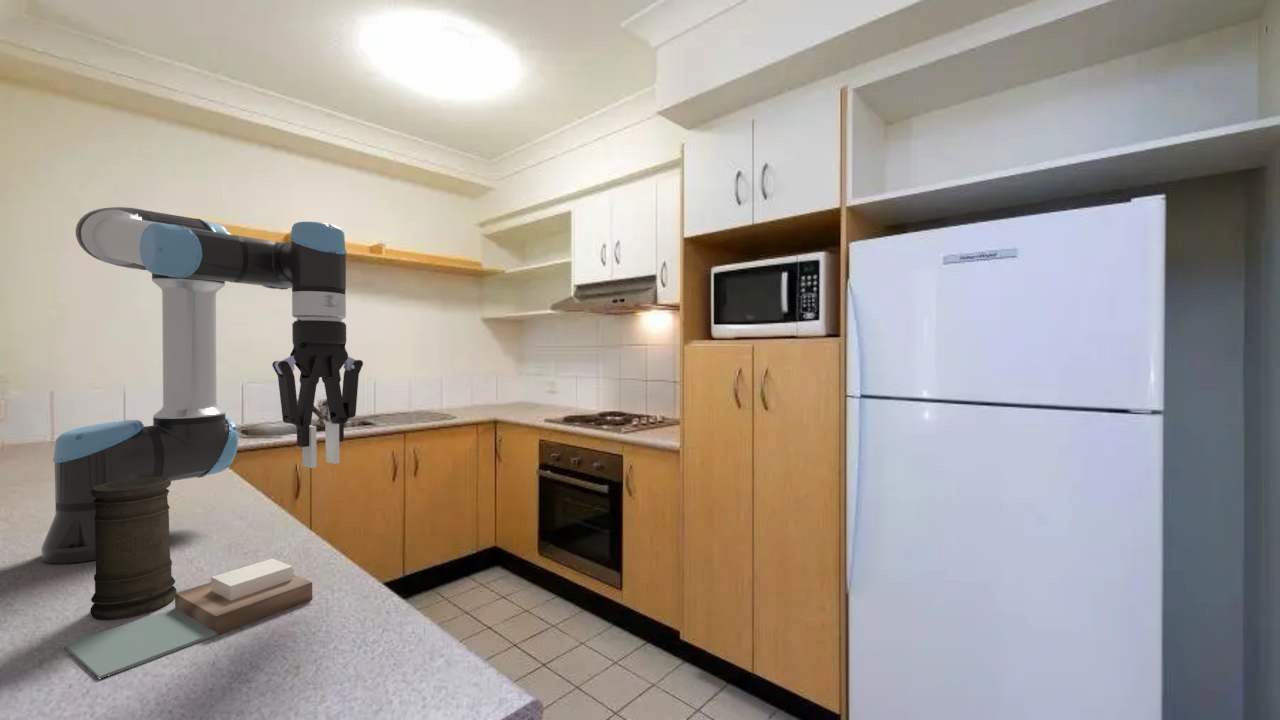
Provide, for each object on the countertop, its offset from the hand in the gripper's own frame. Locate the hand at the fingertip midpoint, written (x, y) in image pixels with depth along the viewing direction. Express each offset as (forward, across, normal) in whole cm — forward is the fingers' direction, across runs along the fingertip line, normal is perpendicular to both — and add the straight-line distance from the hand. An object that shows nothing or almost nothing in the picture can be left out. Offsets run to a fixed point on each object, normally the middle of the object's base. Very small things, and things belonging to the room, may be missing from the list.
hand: (321, 464), depth 87 cm
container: (+19, -19, +14) cm, 30 cm away
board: (+19, -11, 0) cm, 22 cm away
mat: (+19, -22, 0) cm, 29 cm away
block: (+16, -10, 0) cm, 19 cm away
